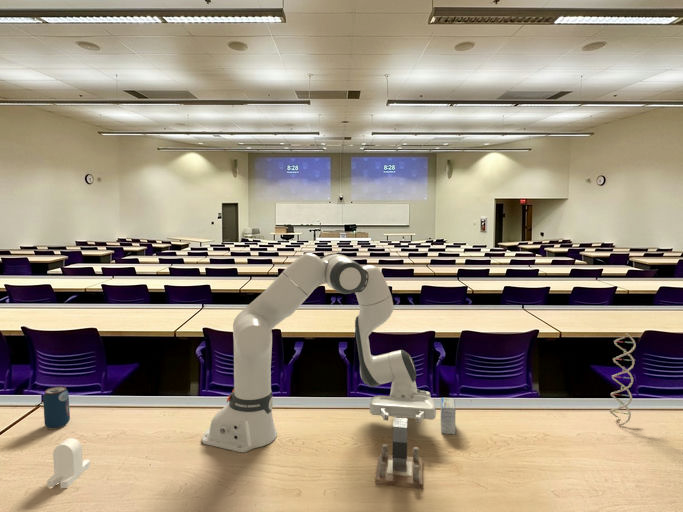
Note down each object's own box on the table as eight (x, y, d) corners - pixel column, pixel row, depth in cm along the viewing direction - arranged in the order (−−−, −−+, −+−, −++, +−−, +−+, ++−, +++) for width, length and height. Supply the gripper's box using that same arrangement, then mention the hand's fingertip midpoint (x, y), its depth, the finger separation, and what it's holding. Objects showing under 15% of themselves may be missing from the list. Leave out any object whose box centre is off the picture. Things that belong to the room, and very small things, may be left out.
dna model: (608, 416, 148) (614, 331, 146) (631, 421, 145) (637, 334, 142) (607, 423, 143) (613, 335, 140) (630, 429, 139) (636, 338, 136)
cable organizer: (46, 488, 108) (43, 451, 107) (72, 466, 118) (70, 431, 117) (67, 489, 108) (64, 451, 107) (91, 466, 118) (89, 431, 117)
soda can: (74, 423, 142) (72, 388, 141) (51, 432, 136) (48, 395, 135) (63, 417, 146) (61, 383, 145) (40, 426, 140) (38, 390, 139)
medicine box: (455, 435, 135) (456, 408, 135) (440, 433, 136) (441, 407, 135) (453, 423, 143) (454, 398, 142) (440, 422, 144) (440, 397, 143)
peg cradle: (375, 483, 111) (375, 466, 110) (379, 457, 122) (379, 442, 122) (422, 488, 109) (423, 471, 108) (421, 461, 120) (422, 446, 120)
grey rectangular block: (391, 472, 113) (392, 426, 112) (392, 461, 118) (393, 417, 117) (406, 473, 113) (407, 427, 111) (406, 462, 118) (407, 418, 117)
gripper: (371, 388, 142) (366, 406, 128) (434, 392, 138) (436, 411, 125) (371, 406, 142) (366, 426, 129) (434, 411, 139) (436, 432, 125)
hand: (401, 419), depth 127 cm, fingers open, 8 cm apart
